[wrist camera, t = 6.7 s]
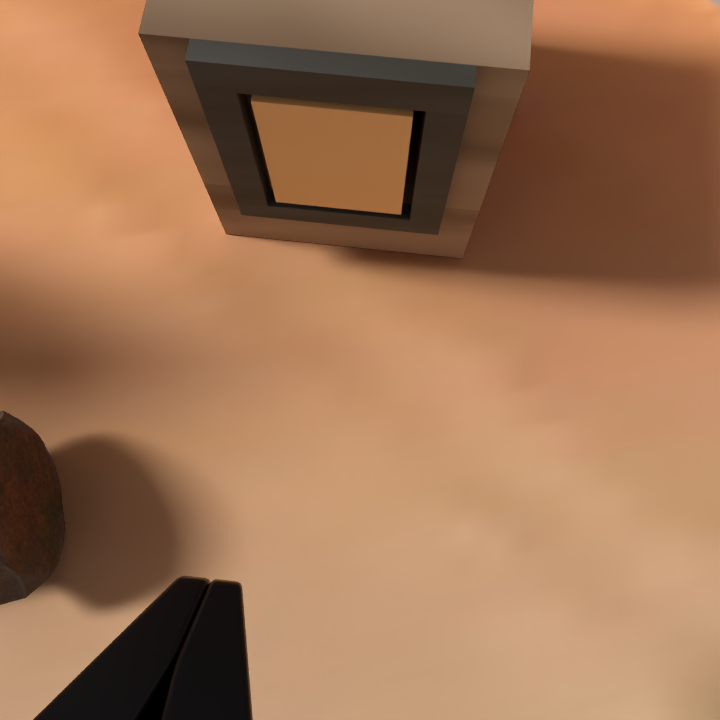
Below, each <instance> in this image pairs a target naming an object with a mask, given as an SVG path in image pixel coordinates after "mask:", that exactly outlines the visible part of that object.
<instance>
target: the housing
mask: <svg viewBox="0 0 720 720" xmlns="http://www.w3.org/2000/svg"><path fill="white" fill-rule="evenodd" d="M532 19H533V0H146V4H145V8H144V12H143V16H142V20H141V25H140V29H139V33H138V34H139V36H140V38H141V41H142V43H143V45H144V48H145V50H146V52H147V54H148V57H149V59H150V61H151V64H152V66H153V68H154V70H155V73H156V75H157V77H158V79H159V82H160V84H161V86H162V89H163V91H164V93H165V95H166V98H167V100H168V102H169V105H170V107H171V109H172V111H173V114H174V116H175V118H176V121H177V123H178V125H179V127H180V130H181V132H182V134H183V137H184V139H185V141H186V143H187V146H188V148H189V150H190V153H191V155H192V157H193V159H194V162H195V164H196V166H197V169H198V171H199V173H200V175H201V178H202V180H203V182H204V185H205V187H206V189H207V191H208V194H209V196H210V198H211V201H212V203H213V205H214V207H215V210H216V212H217V214H218V217H219V219H220V221H221V223H222V226H223V228H224V230H225V233H226V234H232V235H242V236H251V237H261V238H271V239H280V240H290V241H300V242H309V243H319V244H329V245H338V246H348V247H358V248H367V249H377V250H387V251H396V252H406V253H416V254H425V255H435V256H445V257H454V258H463V256H464V253H465V250H466V247H467V244H468V242H469V239H470V236H471V233H472V230H473V228H474V225H475V222H476V219H477V216H478V214H479V211H480V208H481V205H482V202H483V200H484V197H485V194H486V191H487V188H488V186H489V183H490V180H491V177H492V174H493V172H494V169H495V166H496V163H497V160H498V158H499V155H500V152H501V149H502V147H503V144H504V141H505V138H506V135H507V133H508V130H509V127H510V124H511V121H512V119H513V116H514V113H515V110H516V107H517V105H518V102H519V99H520V96H521V93H522V91H523V88H524V85H525V82H526V79H527V77H528V74H529V71H530V57H531V38H532ZM252 95H261V96H271V97H282V98H292V99H302V100H313V101H323V102H333V103H344V104H354V105H364V106H375V107H385V108H395V109H406V110H414V112H413V121H412V129H411V137H410V145H409V153H408V162H407V170H406V178H405V186H404V194H403V202H402V211H401V215H399V214H390V213H380V212H370V211H360V210H350V209H340V208H331V207H321V206H311V205H301V204H291V203H281V202H276V200H275V196H274V192H273V188H272V184H271V180H270V176H269V172H268V168H267V164H266V160H265V156H264V152H263V148H262V144H261V140H260V136H259V132H258V128H257V124H256V120H255V116H254V112H253V108H252V104H251V98H252Z"/></svg>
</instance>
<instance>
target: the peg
mask: <svg viewBox="0 0 720 720" xmlns="http://www.w3.org/2000/svg"><path fill="white" fill-rule="evenodd" d="M251 104H252V108H253V112H254V116H255V120H256V124H257V128H258V132H259V136H260V140H261V144H262V148H263V152H264V156H265V160H266V164H267V168H268V172H269V176H270V180H271V184H272V188H273V192H274V196H275V200H276V202H281V203H291V204H301V205H311V206H321V207H331V208H340V209H350V210H360V211H370V212H380V213H390V214H399V215H401V211H402V202H403V194H404V186H405V178H406V170H407V162H408V153H409V145H410V137H411V129H412V121H413V112H414V110H406V109H395V108H385V107H375V106H364V105H354V104H344V103H333V102H323V101H313V100H302V99H292V98H282V97H271V96H261V95H252V98H251Z"/></svg>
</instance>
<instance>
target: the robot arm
mask: <svg viewBox="0 0 720 720" xmlns="http://www.w3.org/2000/svg"><path fill="white" fill-rule="evenodd" d="M33 720H253V718H252V705H251V692H250V680H249V667H248V655H247V642H246V630H245V617H244V605H243V592H242V585H241V583H239V582H236V581H227V580H218V579H216V580H213V581H212V582H210V580H209V579H206V578H201V577H192V576H181V577H179V578H177V579H176V580H175V581H174V582H173V583H172V584H171V585H170V586H169V587H168V588H167V589H166V590H165V591H164V592H163V593H162V594H161V595H160V596H159V597H158V598H157V599H156V600H155V601H154V602H153V603H151V604H150V605H149V606H148V607H147V608H146V609H145V610H144V611H143V612H142V613H141V614H140V615H139V616H138V617H137V618H136V619H135V620H134V621H133V622H132V623H131V624H130V625H129V626H128V627H127V628H126V629H125V630H124V631H123V632H122V633H121V634H120V635H119V636H118V637H117V638H116V639H115V640H114V641H113V642H112V643H111V644H110V645H109V646H108V647H107V648H106V649H105V650H104V651H103V652H102V653H101V654H100V655H99V656H97V657H96V658H95V659H94V660H93V661H92V662H91V663H90V664H89V665H88V666H87V667H86V668H85V669H84V670H83V671H82V672H81V673H80V674H79V675H78V676H77V677H76V678H75V679H74V680H73V681H72V682H71V683H70V684H69V685H68V686H67V687H66V688H65V689H64V690H63V691H62V692H61V693H60V694H59V695H58V696H57V697H56V698H55V699H54V700H53V701H52V702H51V703H50V704H49V705H48V706H47V707H46V708H45V709H43V710H42V711H41V712H40V713H39V714H38V715H37V716H36V717H35V718H34V719H33Z"/></svg>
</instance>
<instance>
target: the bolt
mask: <svg viewBox="0 0 720 720" xmlns="http://www.w3.org/2000/svg"><path fill="white" fill-rule="evenodd" d="M64 528H65V520H64V513H63V506H62V496H61V488H60V483H59V479H58V476H57V473H56V470H55V467H54V464H53V462H52V460H51V458H50V456H49V453H48V451H47V449H46V447H45V444H44V442H43V441H42V439H41V438H40V436H39V435H38V434H37V433H36V432H35V431H34V430H33V429H32V428H31V427H29V426H28V425H26V424H25V423H24V422H22V421H21V420H19V419H18V418H16V417H14V416H12V415H10V414H8V413H7V412H5V411H0V605H1V604H4V603H8V602H12V601H15V600H19V599H23V598H26V597H27V596H28V595H30V594H31V593H32V592H33V591H34V590H35V589H36V588H38V587H39V586H40V585H41V584H42V583H43V582H44V581H45V580H46V579H47V578H48V576H49V575H50V574H51V573H52V572H53V570H54V569H55V567H56V566H57V564H58V562H59V558H60V553H61V548H62V544H63V539H64Z"/></svg>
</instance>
